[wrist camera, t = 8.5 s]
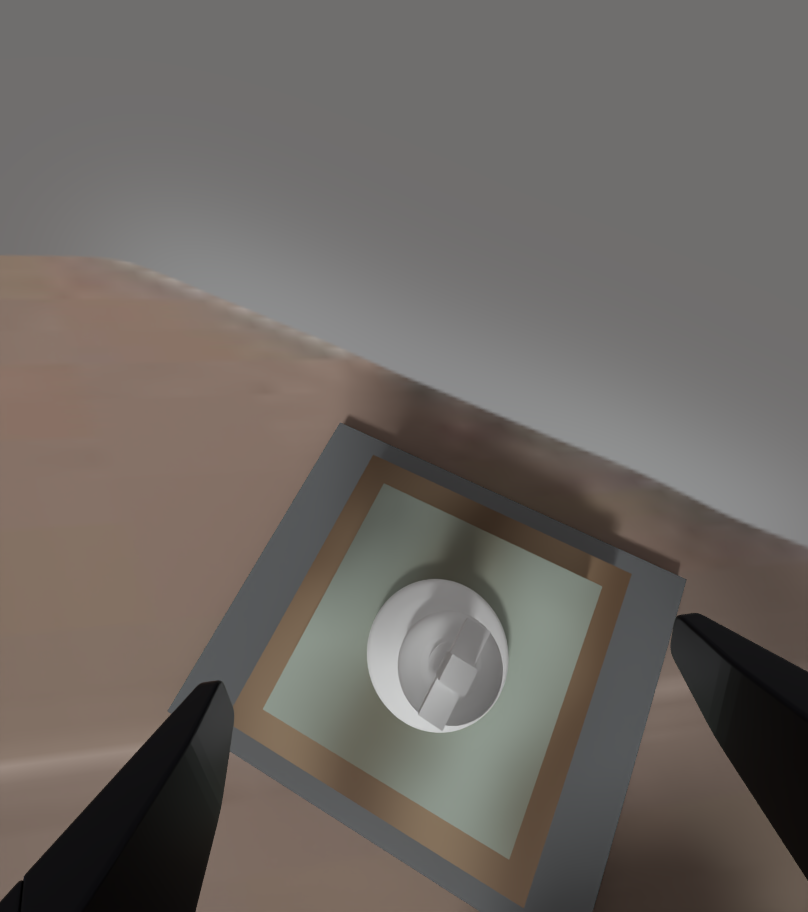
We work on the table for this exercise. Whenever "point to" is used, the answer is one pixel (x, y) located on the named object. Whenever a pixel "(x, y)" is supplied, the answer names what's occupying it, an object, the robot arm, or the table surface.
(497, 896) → the baseplate
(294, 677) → the stacked blocks
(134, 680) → the table surface
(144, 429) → the table surface
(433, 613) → the chess piece
